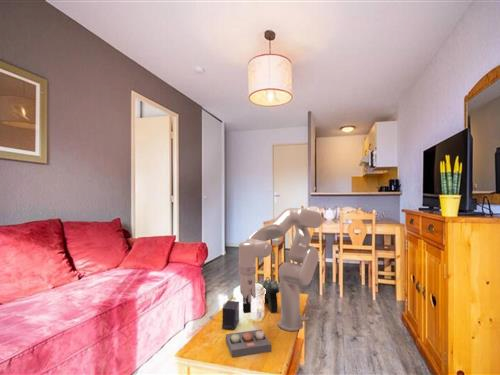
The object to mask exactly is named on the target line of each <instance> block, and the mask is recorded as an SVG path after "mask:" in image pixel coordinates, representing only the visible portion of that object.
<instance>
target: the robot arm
mask: <svg viewBox="0 0 500 375" xmlns="http://www.w3.org/2000/svg"><path fill="white" fill-rule="evenodd" d="M322 225H323V216H322V214H321V213H320V212H318V211H315V210H310V209H306V208H301V207H300V208H299V207H288V208H286V209H284V210H283V211H282V212H281V213H280V214H279V215H278V216H277V217H276V218H275V219H274V220H273V221H272V222H271V223H270V224H267V225H265V226H262V227H261V228H259V229H257V230H255V231H254V232H253V233H252V234H251V235H250V236H249V237H248V238H247V239H246V240H245V241H241V242H239V245H238V275H239V276H240V279H239V280H240V282H239V292H240V294H241V295H242V313H244V314H249V313H252V298H253V299H255V298H256V292H257V291H256V276H255V275H256V270H257V267H256V265H257V262H256V259H257V258H261V259H262V258H263V259H264V258H267V257H269V256H270V255H271V254H272V252H273V246H272V244H271V243H270V242H268V241H270V240H275V239H279V238H283V237H284V236H285V235H287V234H286V233H287V232H289V231H290V229H292V227H293V226H294V230H295V236H294V238H293V241H292V243H291V246H290V248H289V250H288V258H289V260H290V261H292V262H289V261H288V262H287V261H286V262H283V263H281V264H280V266H278V278H279V281H280V284H279V285H280V320H278V322H277V325H278V327H279V328H280V329H281V330H284V331H287V332H295V331H296V332H297V331H300V330H302V329H303V328H304V322H309V321H310V319H309V316H304V315H301V311H300V310H301V307H300V304H301V303H300V302H301V301H300V296H301V295H300V294H301V293H300V288H299V286H303V287H306V286H308V285H309V284H310V283H311V281H312V280H313V276H314V273H315V271H316V268H317V266H318V263H319V256H320V255H319V250H318V249H317V247H315V246H313V245H310V243H311V240H312V237H311V233H310V230H309V229H318V228H320V227H321V226H322ZM308 228H309V229H308Z"/></svg>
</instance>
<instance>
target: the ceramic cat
mask: <svg viewBox="0 0 500 375" xmlns="http://www.w3.org/2000/svg"><path fill="white" fill-rule="evenodd" d="M269 276H270V277H269ZM269 276H268V277H266V279H265V280H264V281H263V285H262V288H263V287H264V288H265V289H266V294H265V305H267V304H269V312H270V313H271V314H277V313H278V304H279V303H278V297H277V294H279V293H280V288H279V284H278V282H277V280H276V279H273V275H272V274H271V273H270V275H269ZM270 278H271V279H270Z"/></svg>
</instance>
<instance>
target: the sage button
mask: <svg viewBox="0 0 500 375" xmlns="http://www.w3.org/2000/svg"><path fill="white" fill-rule="evenodd" d="M239 342H240V336H239V335H238V334H233V335H232V336H231V343H232V344H235V343H239Z"/></svg>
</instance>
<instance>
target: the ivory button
mask: <svg viewBox="0 0 500 375" xmlns="http://www.w3.org/2000/svg"><path fill="white" fill-rule="evenodd" d="M264 334H265V333H264V331H263V330H262V331H257V332H256V340H263V339H264Z"/></svg>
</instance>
